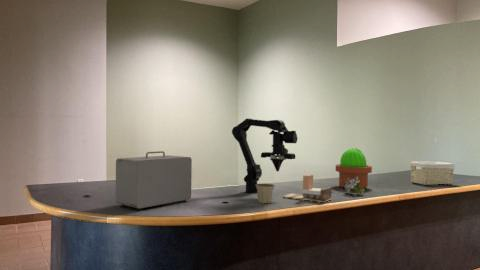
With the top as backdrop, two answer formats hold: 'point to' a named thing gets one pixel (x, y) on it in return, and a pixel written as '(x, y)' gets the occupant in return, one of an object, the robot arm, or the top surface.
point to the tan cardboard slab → (323, 197)
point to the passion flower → (354, 186)
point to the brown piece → (310, 188)
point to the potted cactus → (353, 168)
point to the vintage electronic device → (153, 180)
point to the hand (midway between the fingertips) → (277, 171)
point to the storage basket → (432, 173)
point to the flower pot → (265, 192)
